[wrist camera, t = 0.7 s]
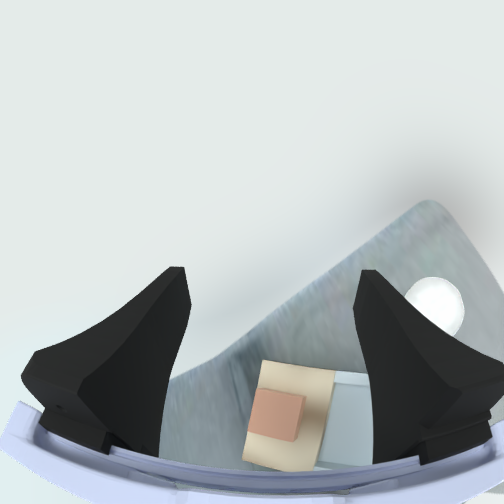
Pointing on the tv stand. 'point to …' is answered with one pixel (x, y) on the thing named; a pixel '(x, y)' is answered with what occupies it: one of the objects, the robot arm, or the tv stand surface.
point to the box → (348, 424)
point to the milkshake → (438, 303)
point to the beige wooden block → (312, 424)
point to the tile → (276, 414)
